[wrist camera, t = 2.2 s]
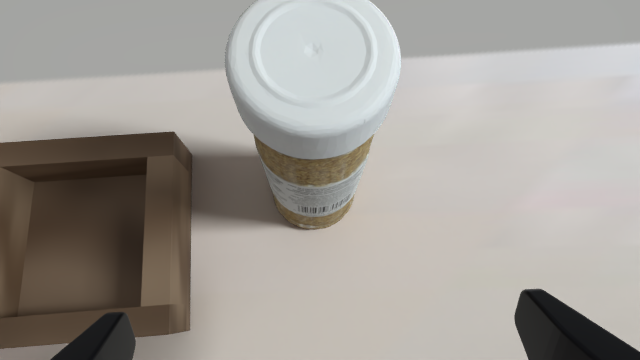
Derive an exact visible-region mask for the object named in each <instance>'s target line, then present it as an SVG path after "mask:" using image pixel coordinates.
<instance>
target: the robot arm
mask: <svg viewBox="0 0 640 360" xmlns="http://www.w3.org/2000/svg"><path fill="white" fill-rule="evenodd" d="M515 325H516V328H517V330H518V333H519V336H520V338H521V341H522V343H523V346H524V349H525V351H526V354H527V357H528V359H529V360H640V352H639V351H638V350H636V349H635V348H633V347H631V346H630V345H628V344H627V343H625V342H624V341H622V340H621V339H619V338H617V337H616V336H614V335H613V334H611V333H610V332H608V331H607V330H605V329H603V328H602V327H600V326H599V325H597V324H596V323H594V322H592V321H591V320H589V319H588V318H586V317H585V316H583V315H582V314H580V313H578V312H577V311H575V310H574V309H572V308H571V307H569V306H568V305H566V304H564V303H563V302H561V301H560V300H558V299H557V298H555V297H553V296H552V295H550V294H549V293H547V292H546V291H544V290H542V289H525V290H523V291H522V292H521V294H520V297H519V301H518V304H517V308H516V312H515ZM135 343H136V340H135V335H134V332H133V329H132V326H131V323H130V320H129V317H128V315H127V314H126V313H125V312H109V313H106V314H104V315H103V316H101V317H100V318H99V319H98V320H97V321H96V322H94V323H93V324H92V325H91V326H90V327H88V328H87V329H86V330H85V331H84V332H83V333H81V334H80V335H79V336H78V337H77V338H75V339H74V340H73V341H72V342H71V343H69V344H68V345H67V346H66V347H65V348H64V349H62V350H61V351H60V352H59V353H58V354H56V355H55V356H54V357H53V358H52V359H51V360H132V358H133V354H134V350H135Z"/></svg>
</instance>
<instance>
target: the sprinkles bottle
mask: <svg viewBox="0 0 640 360" xmlns="http://www.w3.org/2000/svg"><path fill="white" fill-rule="evenodd" d="M225 68H226V76H227V79H228V83H229V86H230V90H231V93H232V95H233V98H234V101H235V103H236V106H237V109H238V111H239V113H240V116H241V118H242V120H243V121H244V123H245V124H246V126H247V127H248V129H249V130H250V131H251V132H252V133H253V134H254V139H255V144H256V148H257V151H258V154H259V157H260V159H261V162H262V165H263V168H264V170H265V173H266V176H267V179H268V182H269V184H270V187H271V190H272V192H273V197H274V201H275V204H276V206H277V208H278V210H279V212H280V213H281V214H282V215H283V216H284V217H285V218H286V219H287V220H288V221H289V222H291V223H292V224H294V225H296V226H298V227H301V228H304V229H320V228H326V227H329V226H331V225H333V224H335V223H337V222H338V221H340V220H341V218H342V217H343V216H344V215H345V214H346V213H347V212H348V211H349V209H350V207H351V205H352V202H353V199H354V193H355V191H356V188H357V186H358V183H359V180H360V178H361V175H362V172H363V170H364V167H365V164H366V162H367V158H368V154H369V148H370V145H371V142H372V139H373V136H374V133H375V132H376V131H377V130H378V128H379V127H380V126H381V124H382V123H383V121H384V119H385V118H386V115H387V113H388V110H389V108H390V105H391V103H392V99H393V96H394V93H395V90H396V87H397V84H398V80H399V76H400V70H401V54H400V48H399V43H398V40H397V37H396V34H395V32H394V29H393V27H392V26H391V24H390V22H389V21H388V19H387V18H386V17H385V15H384V14H383V13H382V12H381V11H380V10H379V9H378V8H377V7H376V6H375V5H374V4H373V3H371V2H370V1H369V0H257V1H255V2H254V3H253V4H252V5H251V6H249V8H247V9H246V10H245V11H244V13H243V14H242V15H241V16H240V17H239V19H238V21H237V22H236V24H235V25H234V27H233V29H232V31H231V33H230V35H229V39H228V42H227V46H226V52H225Z"/></svg>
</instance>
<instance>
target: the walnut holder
mask: <svg viewBox="0 0 640 360" xmlns="http://www.w3.org/2000/svg"><path fill="white" fill-rule="evenodd" d="M191 179H192V154H191V153H190V151H189V150H188V149H187V148H186V146H185V145H184V144H183V142H182V141H181V140H180V139H179V137H178V136H177V135H176V134H175V132H160V133H145V134H129V135H114V136H99V137H83V138H68V139H52V140H37V141H22V142H6V143H0V349H3V348H15V347H27V346H39V345H50V344H62V343H71V342H72V341H73V340H74V339H75V338H77V337H78V336H79V335H80V334H81V333H83V332H84V331H85V330H86V329H87V328H88V327H90V326H91V325H92V324H93V323H94V322H96V321H97V320H98V319H99V318H100V317H101V316H103V315H104V314H106V313H109V312H125V313H126V314H127V315H128V317H129V320H130V323H131V326H132V329H133V332H134V335H135V337H145V336H157V335H168V334H174V333H179V332H184V331H189V330H190V268H191Z"/></svg>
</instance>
